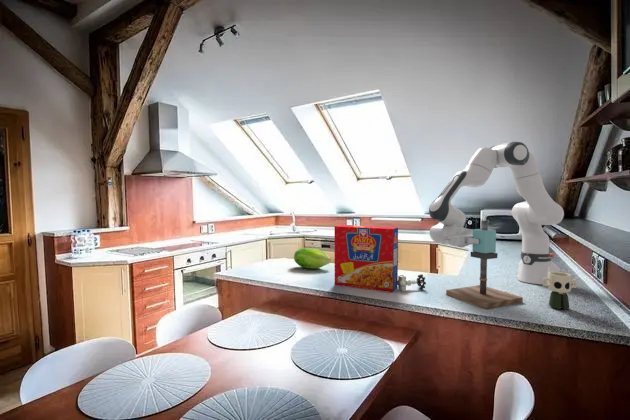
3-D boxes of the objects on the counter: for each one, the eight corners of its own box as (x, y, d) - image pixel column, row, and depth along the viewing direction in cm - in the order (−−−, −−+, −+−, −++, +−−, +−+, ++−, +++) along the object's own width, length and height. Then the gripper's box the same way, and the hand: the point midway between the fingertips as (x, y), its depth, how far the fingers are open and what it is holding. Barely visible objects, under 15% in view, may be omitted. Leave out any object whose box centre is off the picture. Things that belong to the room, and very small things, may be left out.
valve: (401, 292, 150) (426, 290, 153) (401, 277, 150) (426, 276, 152) (394, 288, 157) (418, 286, 159) (394, 274, 156) (418, 272, 159)
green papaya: (324, 273, 187) (324, 251, 187) (288, 269, 197) (288, 249, 197) (334, 268, 199) (334, 248, 198) (299, 264, 209) (299, 245, 208)
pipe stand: (480, 289, 154) (481, 218, 152) (522, 302, 136) (524, 221, 134) (446, 294, 146) (447, 219, 145) (485, 309, 128) (487, 223, 126)
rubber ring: (482, 255, 145) (482, 250, 145) (497, 258, 138) (497, 253, 138) (470, 256, 142) (470, 251, 142) (484, 259, 135) (484, 254, 135)
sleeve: (483, 250, 144) (483, 228, 143) (495, 252, 138) (496, 230, 138) (472, 251, 142) (472, 229, 141) (484, 253, 136) (485, 230, 136)
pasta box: (334, 284, 163) (334, 226, 161) (341, 281, 170) (341, 224, 168) (392, 292, 150) (393, 229, 148) (397, 288, 157) (398, 227, 155)
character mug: (545, 309, 127) (546, 275, 126) (538, 303, 134) (539, 270, 133) (580, 312, 124) (581, 276, 123) (571, 306, 131) (572, 272, 130)
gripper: (441, 231, 147) (466, 234, 135) (476, 229, 155) (503, 232, 143) (441, 245, 148) (466, 250, 135) (476, 242, 156) (503, 247, 143)
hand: (485, 241), depth 139 cm, fingers closed on sleeve, 6 cm apart
